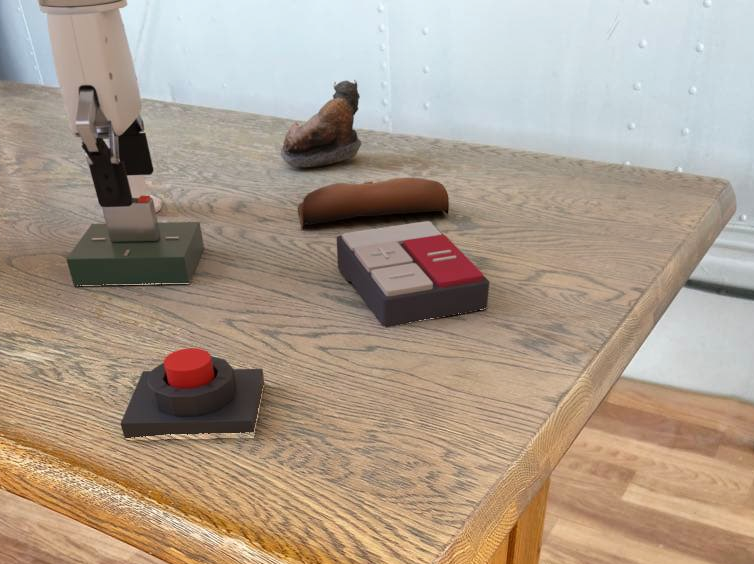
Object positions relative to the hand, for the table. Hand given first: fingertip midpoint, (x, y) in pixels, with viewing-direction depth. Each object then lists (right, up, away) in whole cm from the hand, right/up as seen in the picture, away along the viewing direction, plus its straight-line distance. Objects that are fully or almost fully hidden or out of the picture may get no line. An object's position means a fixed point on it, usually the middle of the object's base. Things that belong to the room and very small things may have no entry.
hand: (128, 189), depth 82 cm
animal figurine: (+17, +18, +33) cm, 41 cm away
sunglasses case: (+24, +4, +17) cm, 30 cm away
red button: (+12, -23, -19) cm, 32 cm away
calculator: (+29, -10, +1) cm, 31 cm away
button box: (+12, -26, -17) cm, 33 cm away
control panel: (0, -6, +5) cm, 8 cm away
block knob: (0, -4, +3) cm, 5 cm away
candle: (-6, +5, +19) cm, 21 cm away
